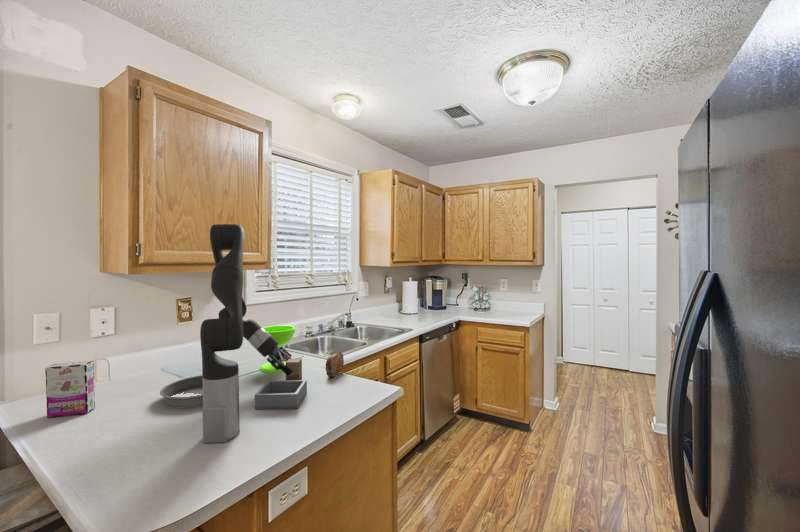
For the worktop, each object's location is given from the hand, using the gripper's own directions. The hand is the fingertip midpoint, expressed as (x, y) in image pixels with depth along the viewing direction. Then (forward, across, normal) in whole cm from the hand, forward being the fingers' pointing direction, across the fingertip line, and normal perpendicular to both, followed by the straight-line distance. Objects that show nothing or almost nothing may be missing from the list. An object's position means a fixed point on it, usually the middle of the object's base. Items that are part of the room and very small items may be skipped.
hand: (293, 370), depth 144 cm
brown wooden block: (+4, 0, +4) cm, 6 cm away
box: (+4, -16, +4) cm, 17 cm away
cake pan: (-18, -9, +27) cm, 34 cm away
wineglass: (-5, +25, +14) cm, 29 cm away
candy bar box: (-43, -22, +52) cm, 71 cm away
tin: (+15, +14, -6) cm, 21 cm away
